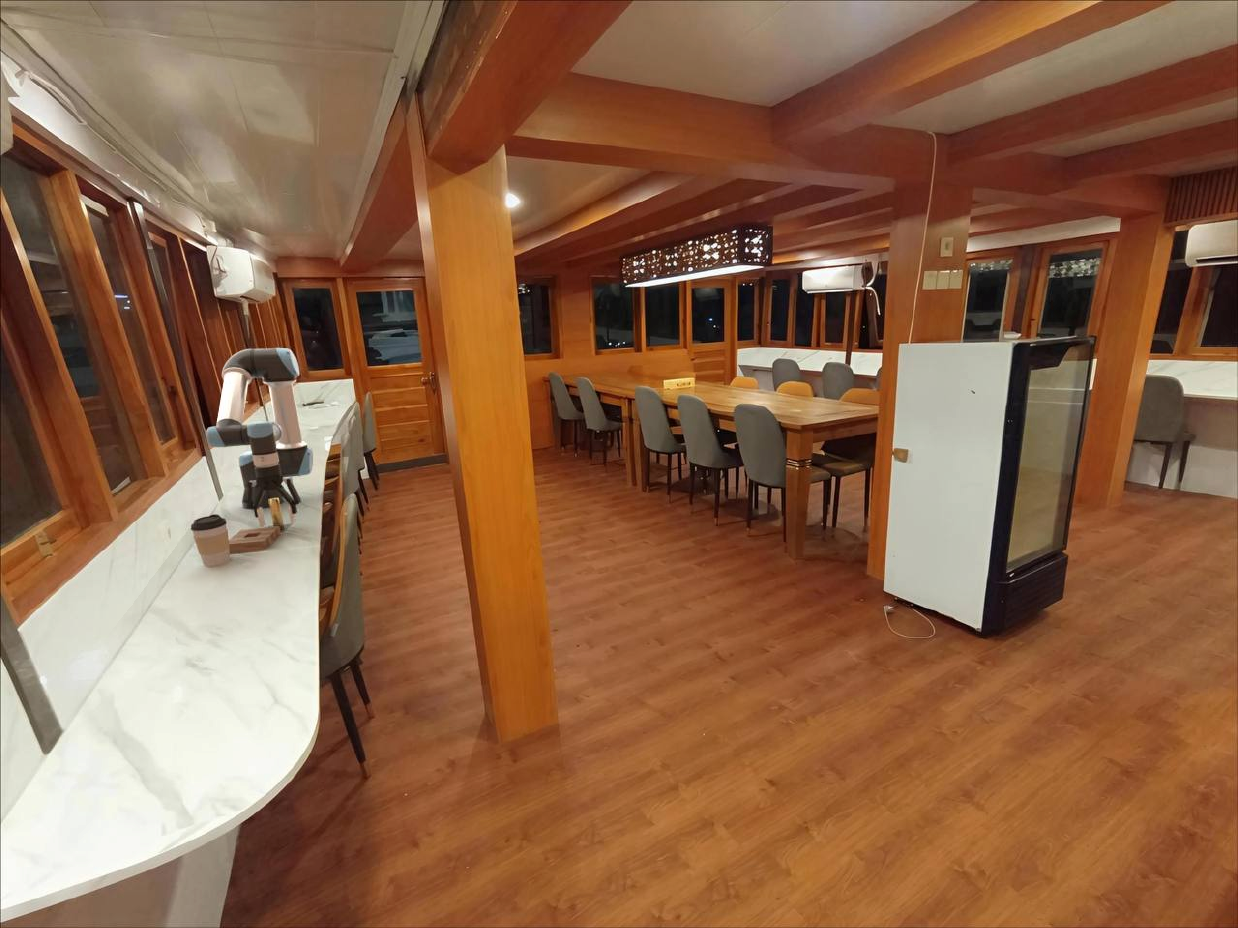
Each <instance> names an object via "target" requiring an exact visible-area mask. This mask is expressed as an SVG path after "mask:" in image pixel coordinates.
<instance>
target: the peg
mask: <svg viewBox="0 0 1238 928" xmlns="http://www.w3.org/2000/svg"><path fill="white" fill-rule="evenodd" d="M268 501H269V510H270V511H269V512H270V516H271V520H272V521H271V522H272V525H273V527H275V526H279V527H280V531H282V530H284V524H285V523H284V520H283V519H284V518H283V515H282V514H283V513H282V509H281V503H280V502H279V498H270V499H268Z"/></svg>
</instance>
